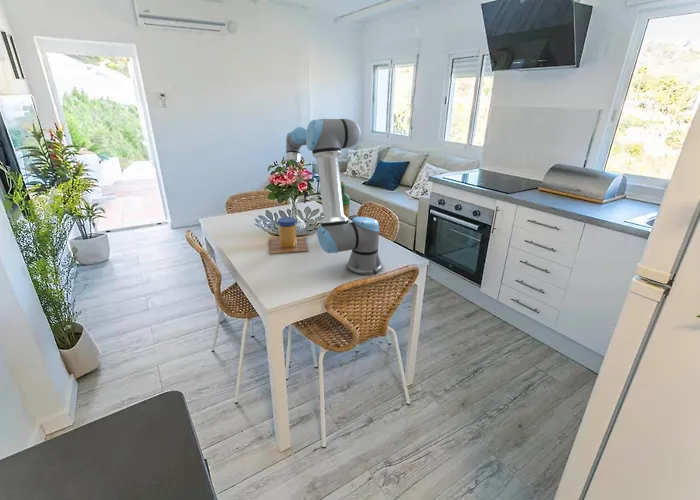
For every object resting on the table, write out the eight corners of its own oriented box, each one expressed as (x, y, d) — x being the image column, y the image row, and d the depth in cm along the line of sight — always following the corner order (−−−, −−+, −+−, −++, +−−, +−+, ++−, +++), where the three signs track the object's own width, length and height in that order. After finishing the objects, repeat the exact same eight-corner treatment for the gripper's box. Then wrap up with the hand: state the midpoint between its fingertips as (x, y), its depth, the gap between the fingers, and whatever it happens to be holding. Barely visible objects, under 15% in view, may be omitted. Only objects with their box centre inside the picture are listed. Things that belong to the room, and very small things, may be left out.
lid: (296, 226, 174) (296, 221, 173) (278, 227, 172) (278, 222, 171) (295, 220, 182) (294, 216, 181) (278, 221, 180) (277, 217, 179)
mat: (307, 251, 174) (307, 250, 174) (270, 254, 171) (270, 253, 171) (304, 237, 192) (304, 236, 192) (270, 239, 189) (270, 238, 188)
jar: (297, 246, 178) (295, 222, 173) (280, 247, 177) (278, 223, 171) (295, 240, 186) (294, 217, 181) (279, 241, 184) (278, 218, 179)
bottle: (339, 234, 197) (339, 185, 185) (327, 229, 204) (327, 181, 192) (353, 229, 203) (354, 182, 192) (341, 225, 210) (341, 179, 199)
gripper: (316, 165, 188) (315, 204, 186) (269, 163, 186) (268, 203, 184) (316, 161, 181) (315, 201, 179) (267, 159, 179) (266, 199, 177)
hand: (291, 202), depth 181 cm, fingers open, 13 cm apart
